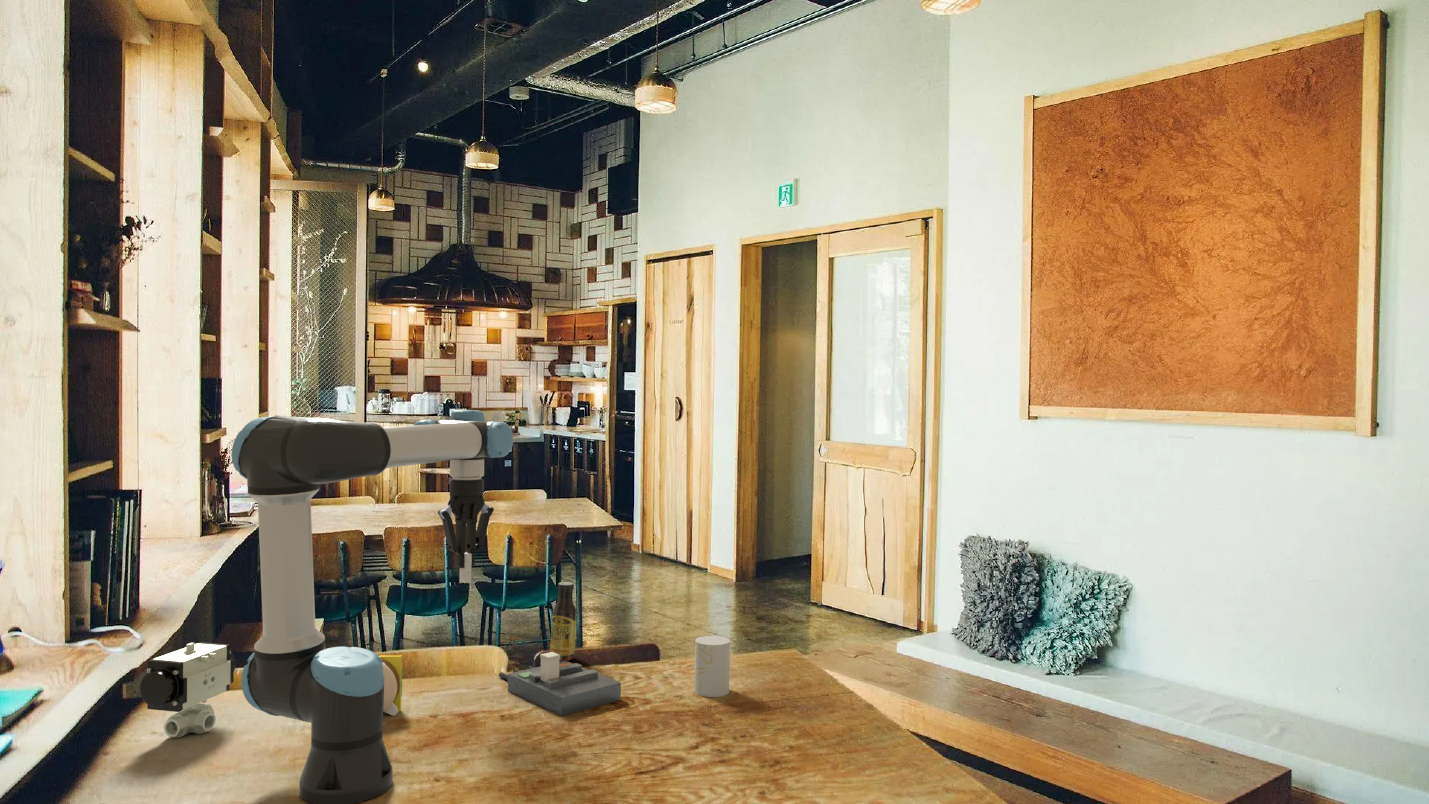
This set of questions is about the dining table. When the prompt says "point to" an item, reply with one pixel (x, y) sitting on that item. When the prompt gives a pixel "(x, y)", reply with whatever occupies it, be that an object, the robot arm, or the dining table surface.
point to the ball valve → (188, 685)
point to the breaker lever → (549, 666)
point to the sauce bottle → (564, 623)
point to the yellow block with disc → (392, 683)
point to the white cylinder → (712, 666)
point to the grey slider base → (564, 688)
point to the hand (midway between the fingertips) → (465, 581)
